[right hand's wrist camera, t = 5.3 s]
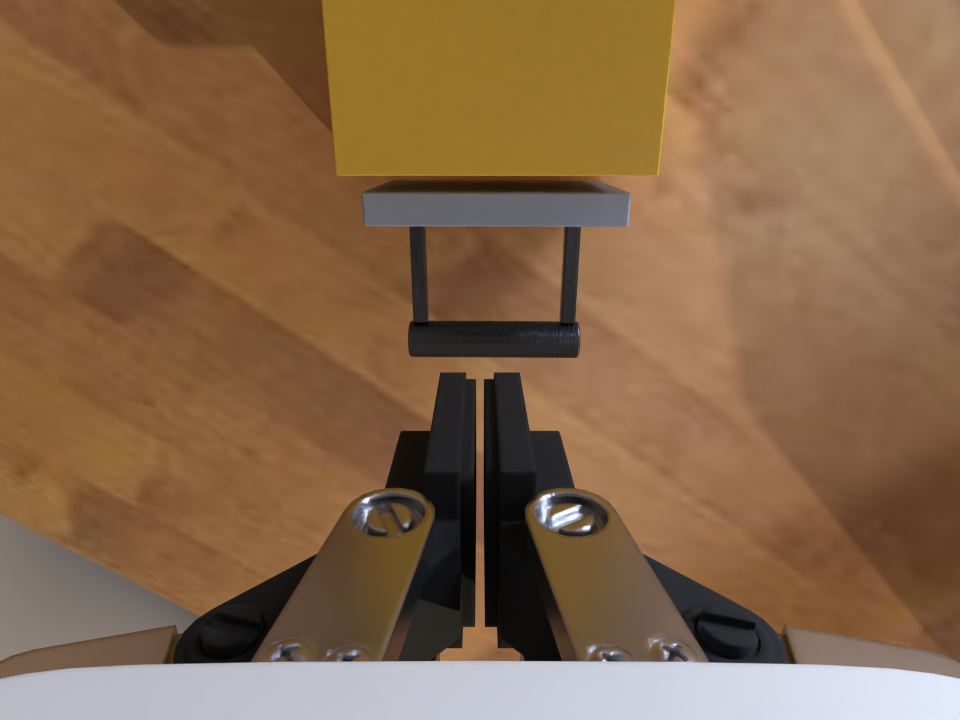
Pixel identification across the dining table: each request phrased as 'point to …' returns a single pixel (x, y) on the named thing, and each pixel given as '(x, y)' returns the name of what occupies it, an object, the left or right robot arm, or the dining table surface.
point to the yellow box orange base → (497, 86)
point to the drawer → (495, 209)
